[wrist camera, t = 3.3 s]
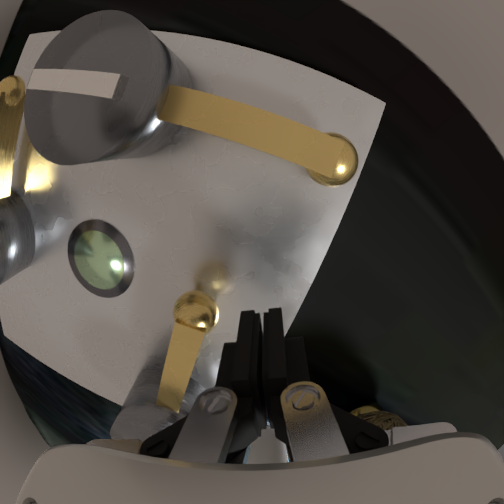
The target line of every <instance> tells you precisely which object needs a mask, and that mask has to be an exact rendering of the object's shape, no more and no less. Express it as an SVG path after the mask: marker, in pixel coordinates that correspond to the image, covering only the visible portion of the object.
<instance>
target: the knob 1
mask: <svg viewBox="0 0 504 504" xmlns="http://www.w3.org/2000/svg"><path fill="white" fill-rule="evenodd" d="M24 120H25V126H26V131H27V134H28V137H29V139H30V141H31V143H32V145H33V147H34V148H35V149H36V151H37V152H38V153H39V154H40V155H41V156H42V157H43V158H45V159H46V160H48V161H50V162H52V163H54V164H58V165H68V166H70V165H77V164H84V163H92V162H100V161H109V160H118V159H129V158H139V157H143V156H146V155H149V154H152V153H154V152H156V151H158V150H159V149H161V148H162V147H164V146H165V145H166V144H167V143H169V142H170V141H171V140H172V139H173V138H174V137H175V135H176V134H177V133H178V132H179V130H180V129H181V128H182V126H184V127H187V128H191V129H194V130H198V131H201V132H205V133H208V134H211V135H215V136H218V137H221V138H224V139H227V140H230V141H233V142H237V143H240V144H242V145H245V146H248V147H251V148H254V149H257V150H260V151H263V152H265V153H268V154H271V155H274V156H276V157H279V158H282V159H284V160H287V161H289V162H292V163H295V164H297V165H300V166H302V167H305V170H306V172H307V173H308V175H309V176H310V177H311V178H312V179H313V180H314V181H315V182H317V183H318V184H320V185H323V186H327V187H338V186H341V185H344V184H346V183H347V182H349V181H350V180H351V179H352V178H353V176H354V175H355V173H356V171H357V168H358V161H359V160H358V153H357V150H356V148H355V146H354V145H353V143H352V142H351V141H350V140H349V139H348V138H346V137H345V136H343V135H341V134H338V133H335V132H325V133H323V132H320V131H318V130H315V129H313V128H311V127H308V126H306V125H303V124H301V123H298V122H296V121H293V120H290V119H288V118H285V117H282V116H280V115H277V114H274V113H271V112H268V111H265V110H262V109H259V108H256V107H253V106H250V105H247V104H244V103H241V102H238V101H234V100H231V99H227V98H224V97H220V96H217V95H213V94H209V93H205V92H201V91H197V90H193V87H192V80H191V77H190V74H189V71H188V69H187V68H186V66H185V64H184V63H183V62H182V61H181V60H180V59H179V58H178V57H177V56H176V55H175V54H174V53H173V52H172V51H171V50H170V49H169V48H168V47H167V46H166V45H165V44H164V43H163V42H162V41H161V40H160V39H159V38H158V37H157V36H155V35H154V34H153V33H152V32H151V31H150V30H149V29H148V28H147V27H146V26H145V25H143V24H142V23H141V22H140V21H139V20H138V19H136V18H135V17H134V16H132V15H130V14H128V13H125V12H122V11H117V10H104V11H98V12H94V13H91V14H88V15H86V16H83V17H81V18H79V19H78V20H76V21H74V22H73V23H71V24H70V25H68V26H67V27H66V28H64V29H63V30H62V31H61V32H60V33H59V34H58V35H57V36H56V37H55V38H54V39H53V40H52V41H51V42H50V43H49V44H48V46H47V47H46V48H45V50H44V51H43V53H42V54H41V56H40V57H39V59H38V61H37V62H36V64H35V67H34V69H33V71H32V73H31V76H30V79H29V82H28V85H27V89H26V94H25V101H24Z"/></svg>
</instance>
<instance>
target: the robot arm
mask: <svg viewBox="0 0 504 504" xmlns="http://www.w3.org/2000/svg"><path fill="white" fill-rule="evenodd" d="M267 412H268V417H269V423H270V428H271V429H274V432H275V437H276V438H277V439H279V440H280V441H281V442H283V443H284V444H286V450H287V454H288V459H289V462H286V463H268V464H247V461H248V457H249V453H250V449H251V443H252V442H254V441H255V440H256V439H257V438H258V437H261V429H266V428H267ZM15 504H504V461H503V459H502V457H501V455H500V454H499V452H498V451H497V449H496V448H495V446H494V445H493V444H492V443H491V442H490V441H489V440H488V439H487V438H486V437H484V436H483V435H480V434H477V433H470V432H457V431H456V428H455V427H454V426H453V425H451V424H449V423H445V422H439V423H432V424H424V425H415V426H404V427H393V428H392V430H383V429H382V428H380V427H378V426H376V425H374V424H372V423H370V422H367V421H365V420H363V419H361V418H359V417H357V416H355V415H353V414H351V413H349V412H347V411H345V410H343V409H341V408H339V407H337V406H335V405H333V404H331V403H329V402H328V399H327V397H326V394H325V392H324V390H323V389H322V387H320V386H319V385H318V384H315V383H313V382H310V377H309V370H308V364H307V357H306V351H305V345H304V339H303V336H299V337H290V338H285V337H284V327H283V317H282V307H279V308H269V309H268V312H264V316H263V331H262V324H261V317H260V313H255V310H247V311H241V314H240V320H239V327H238V333H237V340H236V342H227V343H224V345H223V350H222V355H221V359H220V364H219V369H218V374H217V379H216V384H215V387H212V388H208V389H206V390H204V391H203V392H201V393H200V394H199V395H198V396H197V398H196V399H195V402H194V404H193V406H192V408H191V410H190V412H189V414H188V415H187V416H185V417H183V418H182V419H180V420H178V421H177V422H175V423H173V424H171V425H170V426H168V427H166V428H164V429H163V430H161V431H159V432H157V433H156V434H154V435H152V436H150V437H149V438H147V439H146V440H145V441H140V440H139V439H96V440H92V441H90V442H88V443H87V444H86V445H84V444H67V445H59V446H54V447H51V448H49V449H47V450H46V451H45V452H44V453H43V454H42V455H41V456H40V457H39V459H38V460H37V461H36V463H35V464H34V466H33V468H32V469H31V471H30V473H29V474H28V477H27V478H26V481H25V482H24V484H23V486H22V488H21V490H20V493H19V495H18V497H17V500H16V502H15Z"/></svg>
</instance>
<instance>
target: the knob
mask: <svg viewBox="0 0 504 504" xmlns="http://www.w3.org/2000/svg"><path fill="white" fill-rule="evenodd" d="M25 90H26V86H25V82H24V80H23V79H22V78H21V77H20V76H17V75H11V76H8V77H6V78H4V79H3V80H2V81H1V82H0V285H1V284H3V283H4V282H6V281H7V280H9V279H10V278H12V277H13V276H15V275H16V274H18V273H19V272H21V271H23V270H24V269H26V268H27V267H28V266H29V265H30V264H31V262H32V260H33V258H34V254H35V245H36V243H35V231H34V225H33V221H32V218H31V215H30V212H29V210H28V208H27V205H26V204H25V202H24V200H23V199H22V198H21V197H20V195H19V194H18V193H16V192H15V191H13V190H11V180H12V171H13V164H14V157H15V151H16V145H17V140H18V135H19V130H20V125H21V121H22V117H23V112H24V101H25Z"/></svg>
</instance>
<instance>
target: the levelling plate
mask: <svg viewBox="0 0 504 504" xmlns="http://www.w3.org/2000/svg"><path fill="white" fill-rule="evenodd" d="M61 31H62V30H61ZM61 31H51V32H43V33H36V34H30V35H29V37H28V39H27V42H26V44H25V46H24V49H23V51H22V54H21V56H20V59H19V62H18V65H17V67H16V70H15V73H14V75H17V76H20V77H21V78H22V79H23V80H24V82H25V86H26V89H27V85H28V82H29V79H30V76H31V73H32V71H33V69H34V67H35V64H36V62H37V61H38V59H39V57H40V56H41V54H42V53H43V51H44V50H45V48H46V47H47V46H48V44H49V43H50V42H51V41H52V40H53V39H54V38H55V37H56V36H57V35H58V34H59V33H60V32H61ZM150 31H151V32H152V33H153V34H154V35H155V36H157V37H158V38H159V39H160V40H161V41H162V42H163V43H164V44H165V45H166V46H167V47H168V48H169V49H170V50H171V51H172V52H173V53H174V54H175V55H176V56H177V57H178V58H179V59H180V60H181V61H182V62H183V63H184V64H185V66H186V68H187V69H188V71H189V74H190V77H191V80H192V87H193V90H197V91H201V92H205V93H209V94H213V95H217V96H220V97H224V98H227V99H231V100H234V101H238V102H241V103H244V104H247V105H250V106H253V107H256V108H259V109H262V110H265V111H268V112H271V113H274V114H277V115H280V116H282V117H285V118H288V119H290V120H293V121H296V122H298V123H301V124H303V125H306V126H308V127H311V128H313V129H315V130H318V131H320V132H323V133H325V132H335V133H338V134H341V135H343V136H345V137H346V138H348V139H349V140H350V141H351V142H352V143H353V145H354V146H355V148H356V150H357V153H358V160H359V161H358V168H357V171H356V173H355V175H354V176H353V178H352V179H351V180H350V181H349V182H347V183H346V184H344V185H341V186H338V187H327V186H323V185H320V184H318V183H317V182H315V181H314V180H313V179H312V178H311V177H310V176H309V175H308V173H307V172H306V170H305V167H302V166H300V165H297V164H295V163H292V162H289V161H287V160H284V159H282V158H279V157H276V156H274V155H271V154H268V153H265V152H263V151H260V150H257V149H254V148H251V147H248V146H245V145H242V144H240V143H237V142H233V141H230V140H227V139H224V138H221V137H218V136H215V135H211V134H208V133H205V132H201V131H198V130H194V129H191V128H187V127H184V126H182V128H181V129H180V130H179V132H178V133H177V134H176V135H175V137H174V138H173V139H172V140H171V141H170V142H169V143H167V144H166V145H165V146H164V147H162V148H161V149H159V150H158V151H156V152H154V153H152V154H149V155H146V156H143V157H139V158H129V159H118V160H109V161H100V162H92V163H84V164H77V165H70V166H68V165H58V164H54V163H52V162H50V161H48V160H46V159H45V158H43V157H42V156H41V155H40V154H39V153H38V152H37V151H36V149H35V148H34V147H33V145H32V143H31V141H30V139H29V137H28V134H27V131H26V126H25V120H24V112H23V117H22V121H21V125H20V130H19V135H18V140H17V145H16V151H15V157H14V164H13V171H12V180H11V190H13V191H15V192H16V193H18V194H19V195H20V197H21V198H22V199H23V200H24V202H25V204H26V205H27V208H28V210H29V212H30V215H31V218H32V221H33V225H34V231H35V243H36V245H35V254H34V258H33V260H32V262H31V264H30V265H29V266H28V267H27V268H26V269H24V270H23V271H21V272H19V273H18V274H16V275H15V276H13V277H12V278H10V279H9V280H7V281H6V282H4V283H3V284H1V285H0V319H1V323H2V328H3V332H4V335H5V336H6V337H7V338H9V339H10V340H11V341H12V342H14V343H15V344H16V345H18V346H19V347H21V348H22V349H23V350H25V351H26V352H28V353H29V354H30V355H32V356H33V357H35V358H36V359H38V360H39V361H41V362H42V363H44V364H45V365H47V366H49V367H50V368H52V369H53V370H55V371H57V372H58V373H60V374H62V375H63V376H65V377H67V378H68V379H70V380H72V381H74V382H75V383H77V384H79V385H81V386H83V387H84V388H86V389H88V390H90V391H92V392H94V393H96V394H98V395H100V396H102V397H104V398H106V399H108V400H110V401H112V402H114V403H117V404H119V405H121V406H122V405H123V403H124V401H125V399H126V397H127V395H128V393H129V392H130V390H131V388H132V386H133V384H134V382H135V380H136V378H137V377H138V375H139V374H141V373H142V372H144V371H146V370H150V369H164V365H165V360H166V356H167V352H168V348H169V344H170V340H171V336H172V332H173V328H174V324H175V322H174V318H173V307H174V304H175V302H176V300H177V299H178V298H179V297H180V296H181V295H182V294H184V293H185V292H188V291H191V290H200V291H204V292H206V293H208V294H209V295H211V296H212V297H213V298H214V300H215V301H216V303H217V305H218V308H219V320H218V323H217V325H216V326H215V328H214V329H213V330H212V331H211V332H209V333H208V334H206V335H204V338H203V341H202V344H201V347H200V349H199V352H198V355H197V358H196V361H195V364H194V367H193V370H192V373H191V376H190V378H192V379H194V380H195V381H197V382H198V383H200V384H201V385H202V386H203V387H204V388H205V389H208V388H212V387H215V384H216V379H217V374H218V369H219V364H220V359H221V355H222V350H223V345H224V343H227V342H236V340H237V333H238V327H239V320H240V314H241V311H247V310H255V313H260V317H261V324H262V331H263V316H264V312H268V309H269V308H279V307H282V317H283V327H284V337H285V335H286V333H287V331H288V329H289V327H290V325H291V324H292V322H293V320H294V318H295V316H296V314H297V312H298V310H299V308H300V306H301V304H302V302H303V300H304V298H305V296H306V294H307V292H308V290H309V288H310V286H311V284H312V282H313V280H314V278H315V276H316V274H317V271H318V269H319V267H320V265H321V263H322V261H323V259H324V257H325V254H326V252H327V250H328V248H329V246H330V243H331V241H332V239H333V237H334V235H335V232H336V230H337V228H338V226H339V223H340V221H341V219H342V216H343V214H344V212H345V209H346V207H347V205H348V202H349V200H350V197H351V195H352V193H353V190H354V188H355V185H356V183H357V180H358V178H359V175H360V173H361V170H362V168H363V165H364V163H365V160H366V157H367V155H368V152H369V149H370V147H371V144H372V141H373V139H374V136H375V133H376V130H377V128H378V125H379V122H380V119H381V116H382V113H383V110H384V107H385V104H386V103H384V102H383V101H381V100H379V99H377V98H375V97H373V96H371V95H369V94H367V93H365V92H363V91H361V90H359V89H357V88H355V87H353V86H351V85H349V84H347V83H345V82H342V81H340V80H338V79H336V78H333V77H331V76H329V75H326V74H324V73H322V72H319V71H317V70H314V69H312V68H309V67H306V66H304V65H301V64H298V63H295V62H293V61H290V60H287V59H284V58H281V57H278V56H275V55H272V54H268V53H265V52H262V51H258V50H255V49H251V48H247V47H243V46H240V45H236V44H231V43H227V42H223V41H218V40H213V39H208V38H203V37H197V36H191V35H185V34H178V33H170V32H162V31H152V30H150ZM25 94H26V90H25Z"/></svg>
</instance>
